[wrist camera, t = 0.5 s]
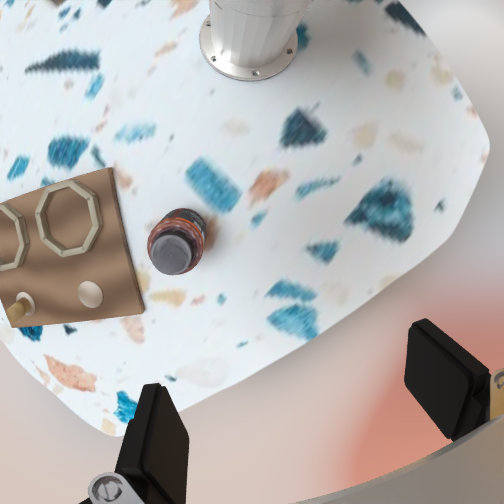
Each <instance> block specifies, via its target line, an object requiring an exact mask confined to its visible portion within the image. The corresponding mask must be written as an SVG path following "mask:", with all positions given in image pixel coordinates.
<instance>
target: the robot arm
mask: <svg viewBox="0 0 504 504" xmlns="http://www.w3.org/2000/svg"><path fill="white" fill-rule="evenodd" d="M312 2H313V0H209V6H210V14H209V15H208V17H207V18H206V19H205V21H204V23H203V25H202V27H201V30H200V35H199V41H200V48H201V51H202V53H203V56H204V58H205V59H206V60H207V62H208V63H209V64H210V65H211V66H212V67H213V68H214V69H215V70H217V71H218V72H220V73H221V74H223V75H225V76H228V77H230V78H234V79H238V80H245V81H254V80H261V79H266V78H269V77H271V76H274V75H276V74H277V73H279V72H281V71H282V70H283V69H284V68H285V67H286V66H287V65H288V64H289V63H290V62H291V60H292V59H293V57H294V55H295V53H296V50H297V46H298V37H297V32H296V28H297V27H298V25H299V23H300V22H301V20H302V18H303V17H304V15H305V13H306V12H307V10H308V9H309V7H310V5H311V4H312ZM208 25H211V26H208ZM287 52H289V53H290V54H287ZM214 59H216V61H215V62H213V61H212V60H214ZM254 73H256V74H257V76H254V75H253V74H254ZM406 358H407V359H406V368H405V376H404V382H405V385H406V387H407V388H408V390H409V391H410V392H411V394H412V395H413V396H414V397H415V399H416V400H417V401H418V402H419V404H420V405H421V406H422V407H423V409H424V410H425V411H426V412H427V414H428V415H429V416H430V418H431V419H432V420H433V421H434V423H435V424H436V425H437V427H438V428H439V429H440V431H441V432H442V433H443V434H444V436H445V437H446V438H447V439H450V438H451V440H452V441H453V442H452V443H451V444H449V445H447V446H445V447H443V448H441V449H440V450H438V451H436V452H434V453H432V454H430V455H428V456H426V457H424V458H422V459H420V460H418V461H416V462H413V463H411V464H409V465H407V466H405V467H402V468H400V469H398V470H395V471H393V472H390V473H388V474H386V475H383V476H381V477H378V478H375V479H373V480H370V481H367V482H365V483H362V484H359V485H356V486H353V487H350V488H347V489H344V490H341V491H338V492H334V493H331V494H327V495H324V496H320V497H316V498H312V499H308V500H304V501H300V502H296V503H291V504H504V368H503V369H499V370H497V371H495V372H494V373H493V374H492V375H491V374H490V373H489V369H488V368H487V367H486V366H484V365H483V364H482V363H481V362H480V361H478V360H477V359H476V358H475V357H474V356H472V355H471V354H470V353H469V352H468V351H466V350H465V349H464V348H463V347H462V346H460V345H459V344H458V343H457V342H455V341H454V340H453V339H452V338H451V337H449V336H448V335H447V334H446V333H444V332H443V331H442V330H441V329H439V328H438V327H437V326H436V325H434V324H433V323H432V322H431V321H429V320H428V319H426V318H424V319H422V320H419V321H416V322H414V323H412V326H411V327H410V329H409V332H408V345H407V357H406ZM188 453H189V436H188V433H187V430H186V428H185V426H184V425H183V422H182V420H181V418H180V416H179V414H178V412H177V410H176V408H175V406H174V404H173V401H172V399H171V397H170V395H169V393H168V390H167V388H166V387H165V386H161V385H160V383H154V384H145V385H144V386H143V389H142V392H141V395H140V398H139V402H138V405H137V408H136V412H135V415H134V419H131V420H130V421H129V423H128V425H127V429H126V432H125V436H124V439H123V443H122V446H121V450H120V453H119V457H118V461H117V464H116V468H115V471H114V473H111V472H108V473H103V474H100V475H98V476H97V477H95V478H94V479H93V480H92V482H91V483H90V485H89V487H88V495H89V498H87V499H86V500H84V501H82V502H81V503H79V504H186V485H187V467H188Z"/></svg>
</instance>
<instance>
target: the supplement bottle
mask: <svg viewBox="0 0 504 504" xmlns="http://www.w3.org/2000/svg"><path fill="white" fill-rule="evenodd" d="M205 237H206V227H205V223H204V221H203V219H202V218H201V217H200V216H199V215H198V214H197V213H196V212H194V211H193V210H190V209H185V208H181V209H176V210H173V211H171V212H170V213H168V214H167V215H166V216H165V217H164V218H163V219H162V220H161V221H160V222H159V223H158V224H157V225H156V226H155V227H154V229H153V230H152V231H151V233H150V235H149V238H148V243H147V249H148V254H149V257H150V259H151V261H152V263H153V265H154V266H155V267H156V268H157V270H159V271H160V272H162V273H164V274H167V275H180V274H184V273H186V272H188V271H190V270H192V269H193V268H194V267H195V266H196V265H197V264H198V262H199V261H200V259H201V256H202V253H203V247H204V242H205Z"/></svg>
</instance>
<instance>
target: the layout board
mask: <svg viewBox="0 0 504 504" xmlns="http://www.w3.org/2000/svg"><path fill="white" fill-rule="evenodd" d="M0 299H1V302H2V304H3V307H4V310H5V312H6V315H7V317H8V320H9V322H10V324H11V327H12V328H17V327H29V326H40V325H51V324H61V323H71V322H80V321H89V320H97V319H106V318H114V317H122V316H130V315H137V314H143V312H144V310H145V308H144V305H143V301H142V298H141V294H140V291H139V287H138V284H137V280H136V277H135V273H134V269H133V265H132V262H131V258H130V254H129V250H128V246H127V241H126V237H125V233H124V228H123V224H122V219H121V215H120V210H119V205H118V200H117V195H116V190H115V184H114V179H113V173H112V168H105V169H101V170H98V171H94V172H91V173H87V174H84V175H80V176H77V177H74V178H71V179H67V180H64V181H61V182H58V183H55V184H52V185H49V186H46V187H43V188H40V189H37V190H34V191H32V192H29V193H26V194H23V195H21V196H18V197H15V198H13V199H10V200H8V201H5V202H3V203H0Z"/></svg>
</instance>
